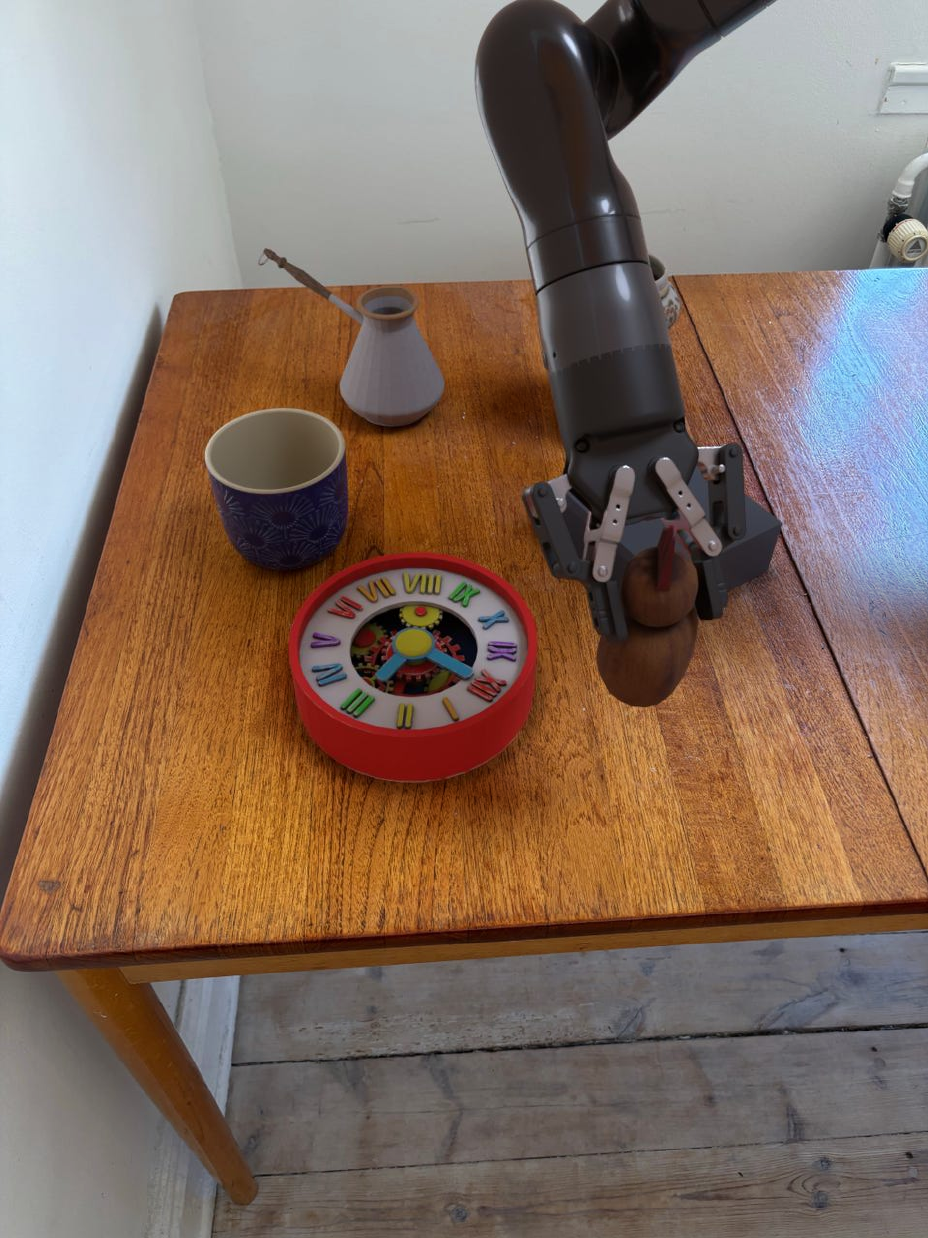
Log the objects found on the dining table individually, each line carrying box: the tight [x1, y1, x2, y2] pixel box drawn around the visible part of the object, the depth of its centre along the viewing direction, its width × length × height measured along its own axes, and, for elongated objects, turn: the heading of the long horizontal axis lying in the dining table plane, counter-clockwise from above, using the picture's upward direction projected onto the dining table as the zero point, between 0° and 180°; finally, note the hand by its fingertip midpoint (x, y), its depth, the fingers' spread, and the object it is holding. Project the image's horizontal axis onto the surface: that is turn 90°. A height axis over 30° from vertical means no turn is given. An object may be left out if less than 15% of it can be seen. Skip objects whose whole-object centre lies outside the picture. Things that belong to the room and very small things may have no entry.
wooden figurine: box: [595, 525, 699, 708], centre depth 63 cm, size 7×6×15 cm
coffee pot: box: [257, 247, 446, 428], centre depth 109 cm, size 21×12×15 cm, turn 62°
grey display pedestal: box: [562, 465, 783, 609], centre depth 95 cm, size 14×16×6 cm
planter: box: [204, 407, 349, 571], centre depth 93 cm, size 12×12×11 cm
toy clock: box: [287, 551, 538, 783], centre depth 83 cm, size 20×6×20 cm
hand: (665, 629), depth 62 cm, fingers closed on wooden figurine, 5 cm apart
